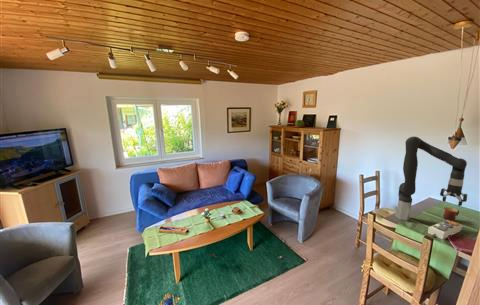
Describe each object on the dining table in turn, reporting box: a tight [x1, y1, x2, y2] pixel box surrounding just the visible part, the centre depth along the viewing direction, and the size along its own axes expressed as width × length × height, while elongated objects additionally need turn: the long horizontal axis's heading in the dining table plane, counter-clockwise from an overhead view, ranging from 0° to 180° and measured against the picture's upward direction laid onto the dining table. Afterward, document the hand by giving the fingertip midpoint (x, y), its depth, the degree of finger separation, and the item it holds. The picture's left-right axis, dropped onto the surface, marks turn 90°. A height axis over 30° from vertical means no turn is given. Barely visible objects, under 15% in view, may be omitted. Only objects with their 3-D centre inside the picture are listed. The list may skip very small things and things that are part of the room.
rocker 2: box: [449, 221, 460, 225], centre depth 157 cm, size 6×4×2 cm, turn 112°
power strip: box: [427, 220, 463, 240], centre depth 155 cm, size 32×9×6 cm, turn 112°
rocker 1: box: [437, 224, 448, 231], centre depth 151 cm, size 6×4×2 cm, turn 112°
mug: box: [442, 206, 460, 222], centre depth 173 cm, size 12×9×10 cm
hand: (451, 203), depth 153 cm, fingers open, 8 cm apart
